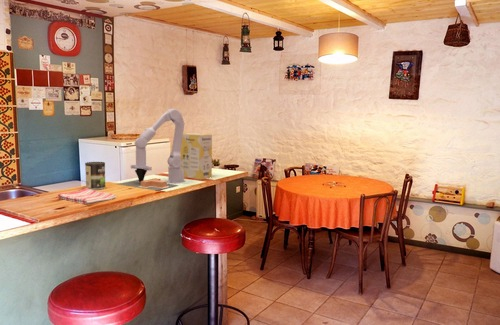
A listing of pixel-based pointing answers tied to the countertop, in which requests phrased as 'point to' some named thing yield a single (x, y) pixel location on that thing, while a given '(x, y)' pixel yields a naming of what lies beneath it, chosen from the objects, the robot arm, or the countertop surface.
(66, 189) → the countertop surface
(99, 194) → the dish towel
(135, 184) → the slate mat
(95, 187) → the coffee can
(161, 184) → the t block
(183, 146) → the pasta box
